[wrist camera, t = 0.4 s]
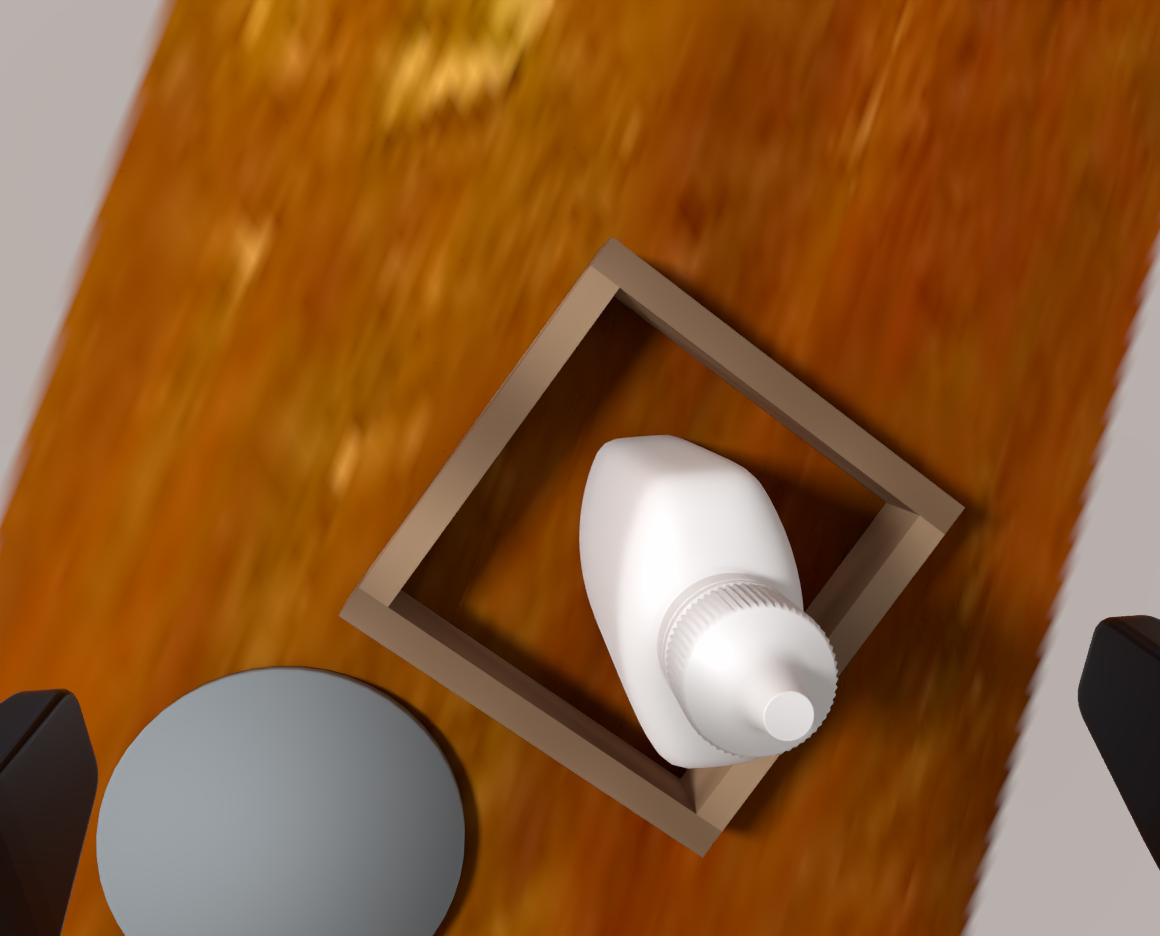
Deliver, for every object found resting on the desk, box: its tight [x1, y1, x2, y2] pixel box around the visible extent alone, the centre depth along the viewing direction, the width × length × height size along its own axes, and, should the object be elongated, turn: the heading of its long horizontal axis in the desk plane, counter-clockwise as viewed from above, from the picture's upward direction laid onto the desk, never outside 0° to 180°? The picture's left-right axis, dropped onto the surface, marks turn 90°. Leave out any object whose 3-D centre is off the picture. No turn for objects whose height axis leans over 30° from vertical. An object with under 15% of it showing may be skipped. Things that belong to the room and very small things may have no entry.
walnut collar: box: [339, 237, 965, 858], centre depth 24 cm, size 11×11×2 cm
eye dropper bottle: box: [579, 435, 838, 768], centre depth 19 cm, size 4×6×12 cm
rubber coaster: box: [97, 666, 465, 936], centre depth 25 cm, size 9×9×1 cm
